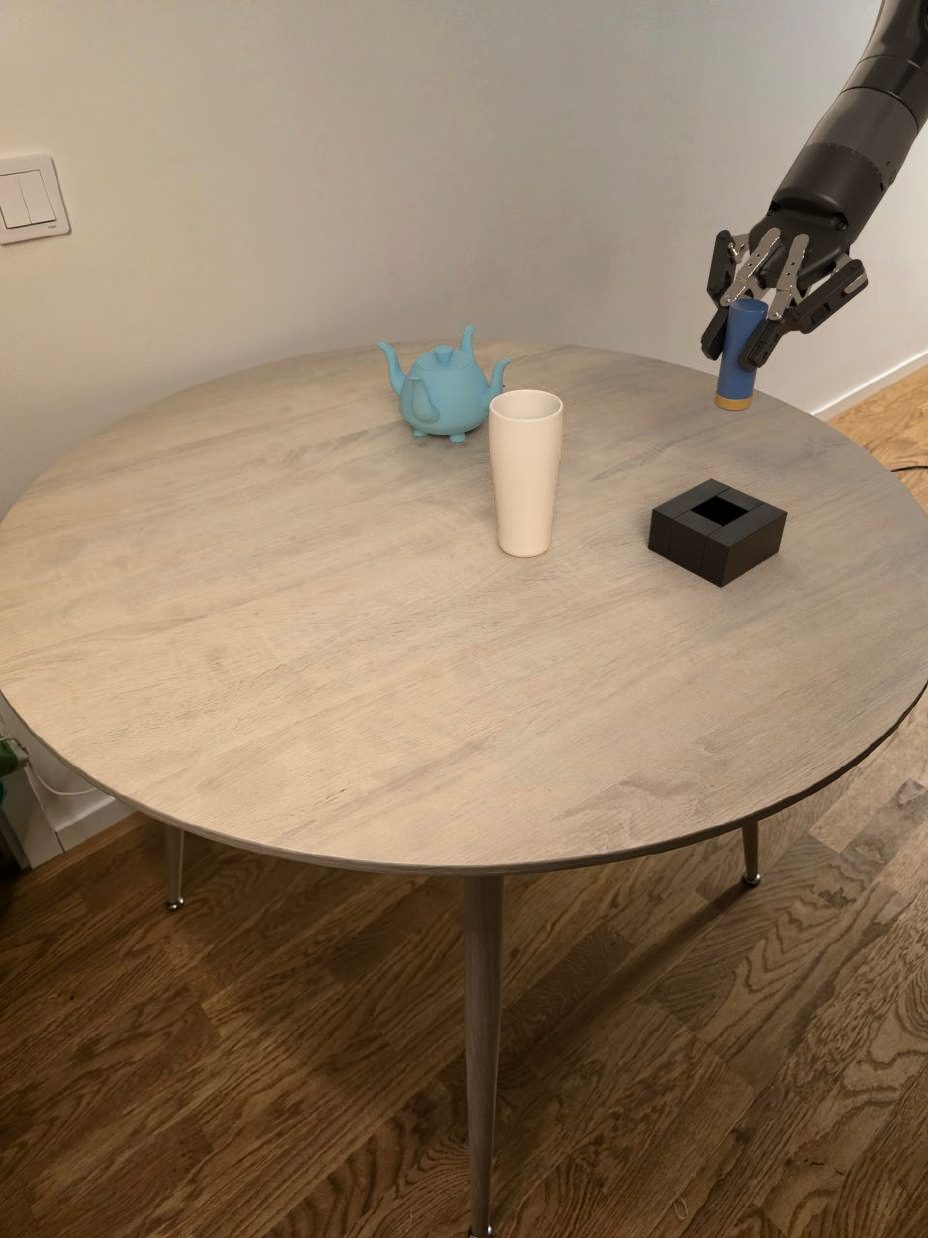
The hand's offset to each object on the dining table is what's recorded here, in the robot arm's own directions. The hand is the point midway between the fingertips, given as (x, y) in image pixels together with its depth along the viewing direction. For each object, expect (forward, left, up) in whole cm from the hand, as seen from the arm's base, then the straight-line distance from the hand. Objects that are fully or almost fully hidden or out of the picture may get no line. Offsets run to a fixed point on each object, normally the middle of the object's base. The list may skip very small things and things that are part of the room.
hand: (726, 360), depth 71 cm
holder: (0, -3, -20) cm, 20 cm away
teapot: (+39, -1, -20) cm, 44 cm away
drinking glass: (+13, +10, -20) cm, 26 cm away
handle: (0, -2, -4) cm, 5 cm away
